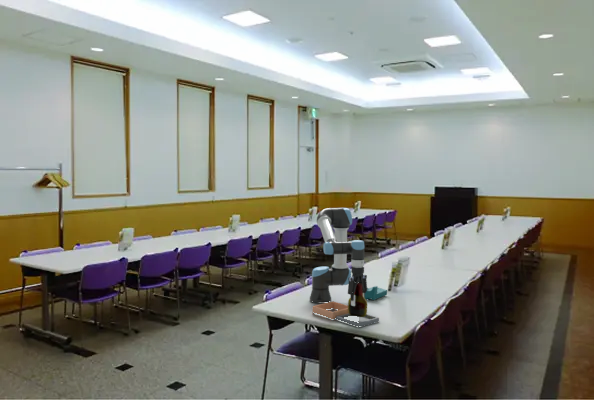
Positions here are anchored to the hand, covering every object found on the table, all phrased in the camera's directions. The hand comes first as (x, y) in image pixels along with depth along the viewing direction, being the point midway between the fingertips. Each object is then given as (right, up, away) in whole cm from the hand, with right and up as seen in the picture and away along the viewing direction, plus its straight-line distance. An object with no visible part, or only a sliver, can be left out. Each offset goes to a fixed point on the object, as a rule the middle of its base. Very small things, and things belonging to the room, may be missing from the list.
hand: (357, 304), depth 283 cm
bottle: (0, -7, 0) cm, 7 cm away
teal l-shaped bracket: (+19, -7, +56) cm, 60 cm away
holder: (-14, -9, +14) cm, 22 cm away
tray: (0, -10, +1) cm, 10 cm away
